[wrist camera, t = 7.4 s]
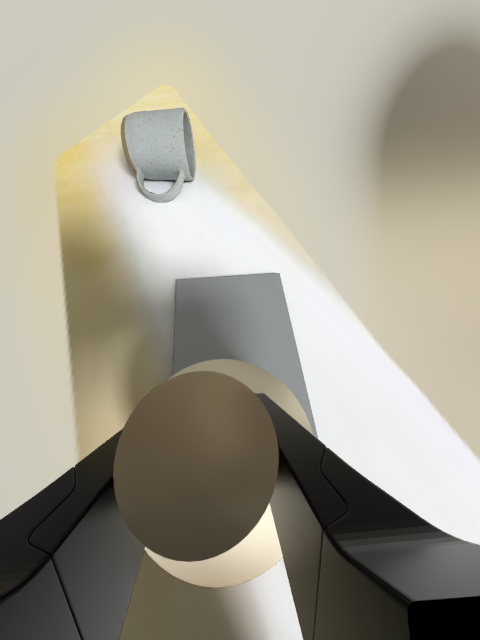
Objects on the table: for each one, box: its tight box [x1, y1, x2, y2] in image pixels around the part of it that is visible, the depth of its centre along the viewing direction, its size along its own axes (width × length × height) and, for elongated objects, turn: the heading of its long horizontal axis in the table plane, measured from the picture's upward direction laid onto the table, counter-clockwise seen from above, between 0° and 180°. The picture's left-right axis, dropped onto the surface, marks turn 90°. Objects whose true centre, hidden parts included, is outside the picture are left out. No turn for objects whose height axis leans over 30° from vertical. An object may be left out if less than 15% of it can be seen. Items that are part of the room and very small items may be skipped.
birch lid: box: [113, 359, 313, 588], centre depth 9 cm, size 10×10×10 cm
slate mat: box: [173, 273, 318, 439], centre depth 20 cm, size 20×11×1 cm, turn 6°
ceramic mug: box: [121, 108, 196, 202], centre depth 31 cm, size 11×8×8 cm
